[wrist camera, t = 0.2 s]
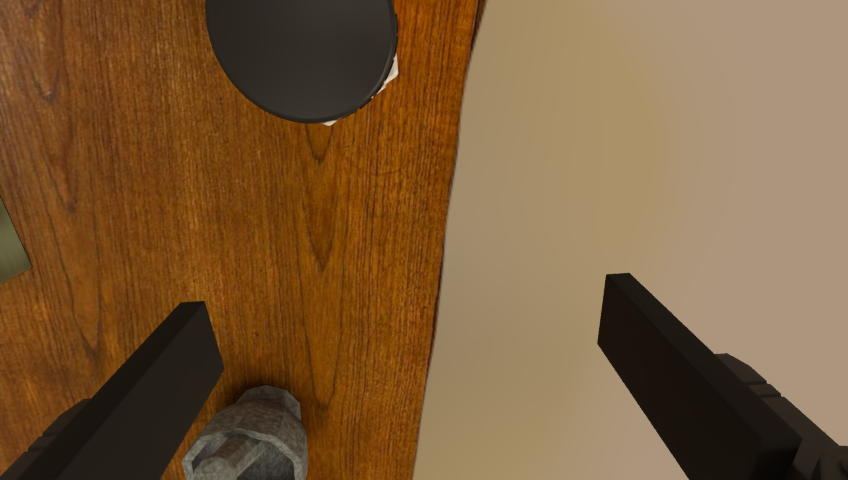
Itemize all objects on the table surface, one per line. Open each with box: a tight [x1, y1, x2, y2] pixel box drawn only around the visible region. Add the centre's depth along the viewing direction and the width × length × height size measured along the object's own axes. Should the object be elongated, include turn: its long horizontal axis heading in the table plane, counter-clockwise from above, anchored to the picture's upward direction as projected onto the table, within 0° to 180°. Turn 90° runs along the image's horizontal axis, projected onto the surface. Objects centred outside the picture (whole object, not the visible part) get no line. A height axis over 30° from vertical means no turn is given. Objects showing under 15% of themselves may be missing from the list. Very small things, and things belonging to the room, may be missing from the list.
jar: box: [205, 0, 399, 126], centre depth 24 cm, size 9×8×12 cm
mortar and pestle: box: [182, 385, 308, 480], centre depth 35 cm, size 11×9×12 cm
